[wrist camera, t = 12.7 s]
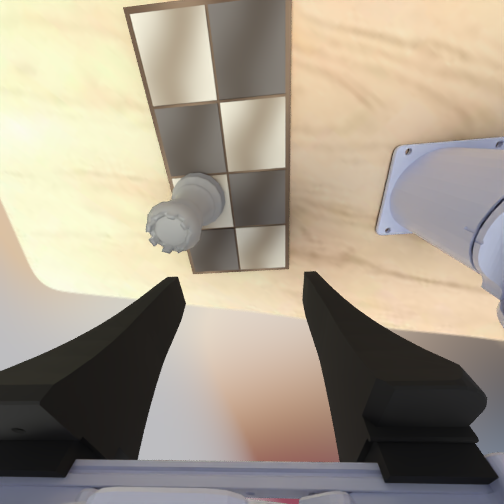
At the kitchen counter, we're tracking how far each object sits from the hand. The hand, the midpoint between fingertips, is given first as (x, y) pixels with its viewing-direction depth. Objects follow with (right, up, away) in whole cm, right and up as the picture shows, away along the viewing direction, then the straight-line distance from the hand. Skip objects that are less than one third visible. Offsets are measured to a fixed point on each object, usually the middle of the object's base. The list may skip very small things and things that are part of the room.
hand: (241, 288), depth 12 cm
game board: (-1, +9, +7) cm, 12 cm away
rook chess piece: (-4, +7, +7) cm, 11 cm away
